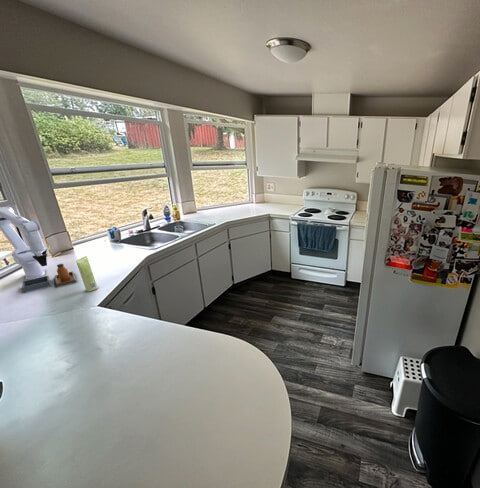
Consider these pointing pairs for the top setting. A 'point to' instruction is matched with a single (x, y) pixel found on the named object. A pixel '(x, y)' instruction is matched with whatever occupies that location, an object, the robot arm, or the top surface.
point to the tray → (60, 283)
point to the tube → (86, 274)
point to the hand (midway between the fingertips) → (44, 264)
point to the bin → (36, 283)
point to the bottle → (63, 273)
